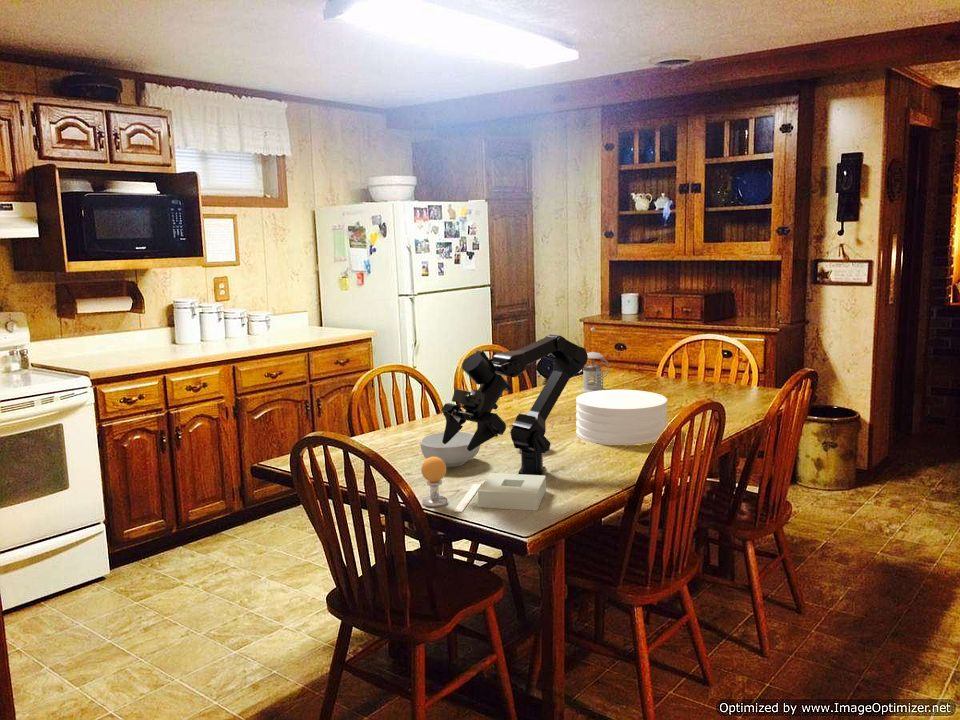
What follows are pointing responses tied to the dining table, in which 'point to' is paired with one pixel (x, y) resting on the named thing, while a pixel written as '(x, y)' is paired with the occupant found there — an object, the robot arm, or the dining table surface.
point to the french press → (593, 373)
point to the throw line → (467, 498)
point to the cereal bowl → (449, 448)
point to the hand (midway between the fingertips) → (455, 446)
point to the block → (512, 491)
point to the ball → (433, 469)
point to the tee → (434, 496)
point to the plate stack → (620, 417)
